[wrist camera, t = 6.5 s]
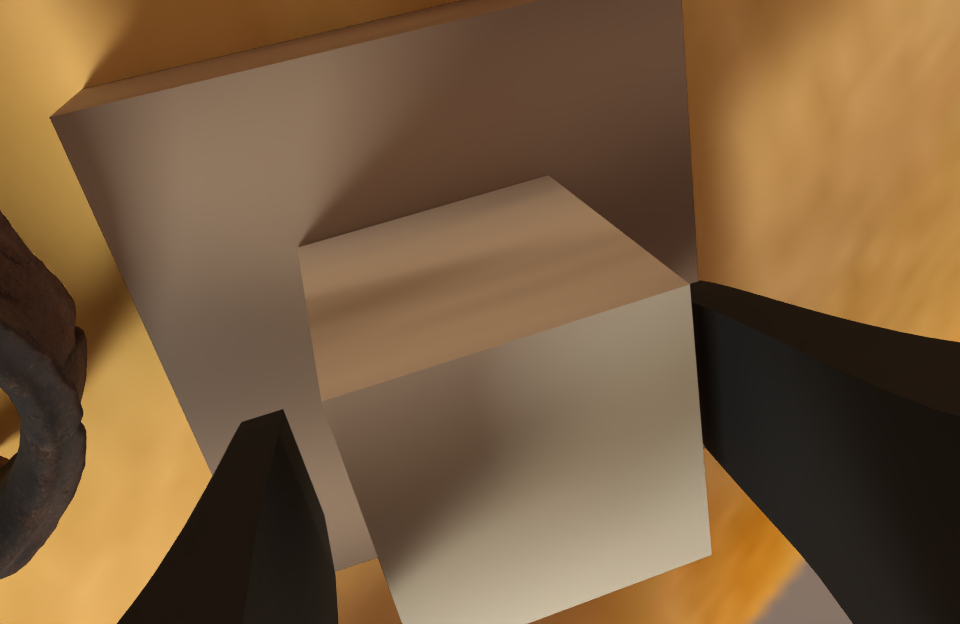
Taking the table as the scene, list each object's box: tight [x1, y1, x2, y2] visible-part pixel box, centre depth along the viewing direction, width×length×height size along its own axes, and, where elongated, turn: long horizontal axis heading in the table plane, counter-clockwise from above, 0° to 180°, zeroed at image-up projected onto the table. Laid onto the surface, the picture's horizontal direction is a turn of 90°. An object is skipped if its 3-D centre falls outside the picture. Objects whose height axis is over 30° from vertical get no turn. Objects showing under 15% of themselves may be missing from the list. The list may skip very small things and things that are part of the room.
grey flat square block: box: [50, 0, 706, 572], centre depth 16 cm, size 10×10×3 cm
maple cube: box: [297, 175, 712, 624], centre depth 12 cm, size 4×4×5 cm
